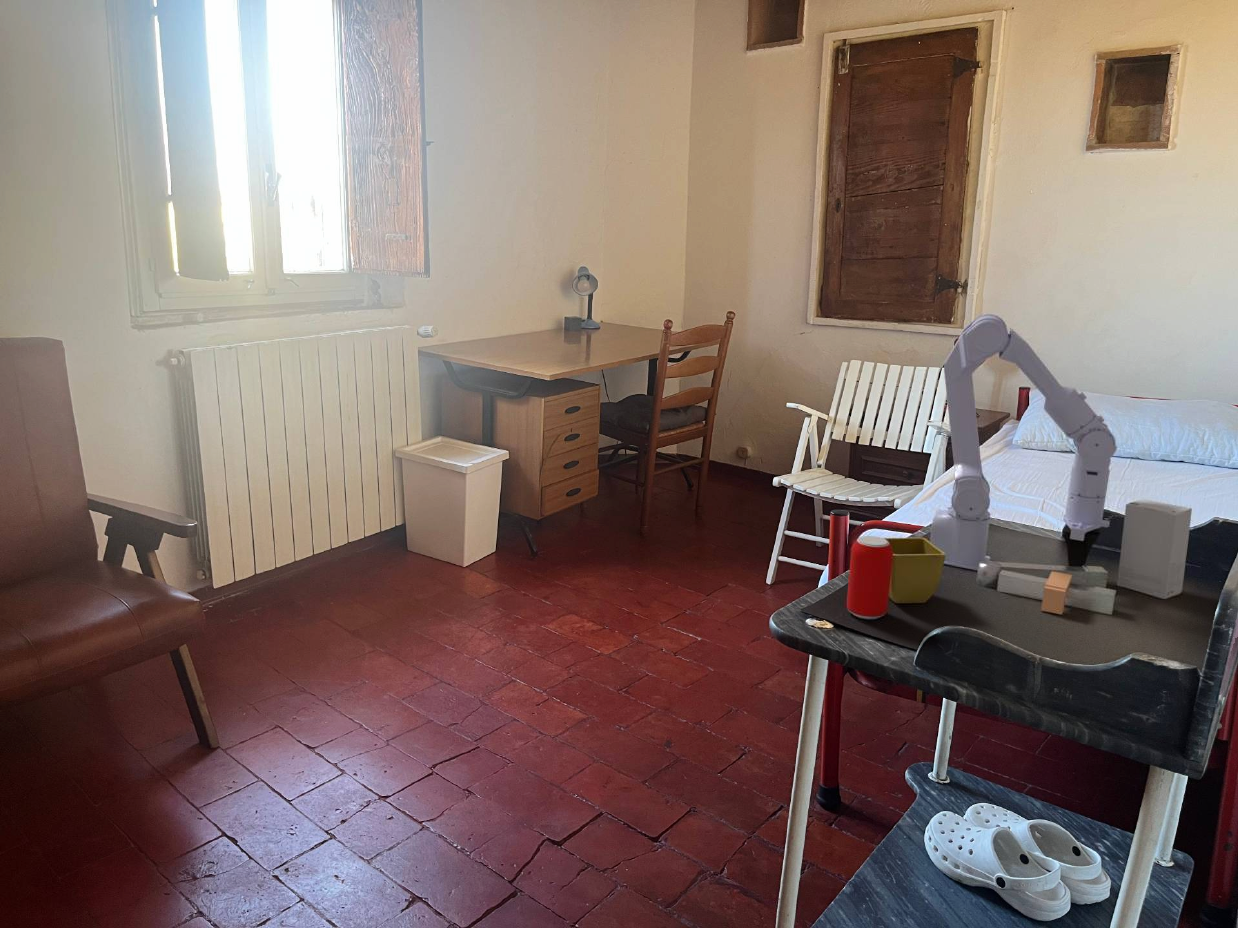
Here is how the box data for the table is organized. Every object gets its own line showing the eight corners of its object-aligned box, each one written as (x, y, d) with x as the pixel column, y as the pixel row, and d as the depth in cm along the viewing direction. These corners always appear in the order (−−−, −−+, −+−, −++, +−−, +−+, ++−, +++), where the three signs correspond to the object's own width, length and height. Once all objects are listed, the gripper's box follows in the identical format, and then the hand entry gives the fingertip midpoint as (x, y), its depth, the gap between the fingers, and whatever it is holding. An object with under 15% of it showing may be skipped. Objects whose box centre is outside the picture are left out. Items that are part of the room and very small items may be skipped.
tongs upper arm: (979, 586, 153) (981, 566, 152) (972, 576, 158) (974, 557, 157) (1109, 594, 151) (1112, 575, 150) (1098, 584, 155) (1101, 565, 155)
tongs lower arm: (996, 591, 151) (998, 573, 151) (999, 586, 154) (1002, 568, 153) (1111, 614, 143) (1114, 595, 142) (1113, 609, 145) (1116, 590, 144)
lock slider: (1041, 610, 143) (1044, 586, 142) (1048, 594, 150) (1052, 571, 149) (1061, 614, 142) (1065, 590, 141) (1068, 598, 148) (1072, 575, 148)
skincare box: (1181, 594, 152) (1197, 508, 148) (1163, 601, 149) (1178, 514, 145) (1131, 578, 159) (1144, 496, 155) (1112, 584, 155) (1125, 501, 152)
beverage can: (840, 615, 140) (846, 541, 137) (854, 603, 145) (861, 531, 142) (878, 625, 137) (886, 549, 134) (892, 612, 142) (899, 539, 139)
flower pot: (868, 588, 152) (872, 537, 149) (919, 587, 152) (924, 536, 150) (887, 609, 143) (893, 555, 141) (941, 608, 144) (947, 554, 142)
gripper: (1109, 507, 147) (1097, 586, 151) (1117, 488, 159) (1105, 561, 162) (1061, 500, 151) (1050, 577, 154) (1072, 482, 163) (1062, 553, 166)
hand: (1075, 568), depth 159 cm, fingers closed
